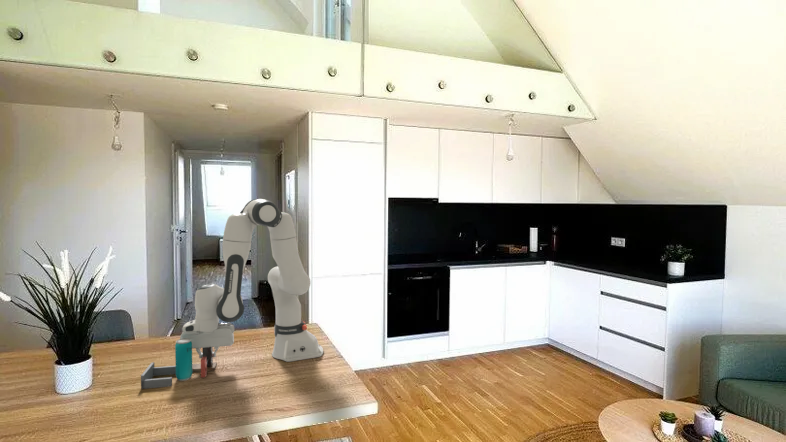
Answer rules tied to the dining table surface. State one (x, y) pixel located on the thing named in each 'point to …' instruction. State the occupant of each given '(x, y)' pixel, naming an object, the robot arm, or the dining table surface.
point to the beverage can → (183, 359)
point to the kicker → (206, 360)
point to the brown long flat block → (198, 367)
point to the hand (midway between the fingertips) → (207, 357)
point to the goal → (154, 371)
